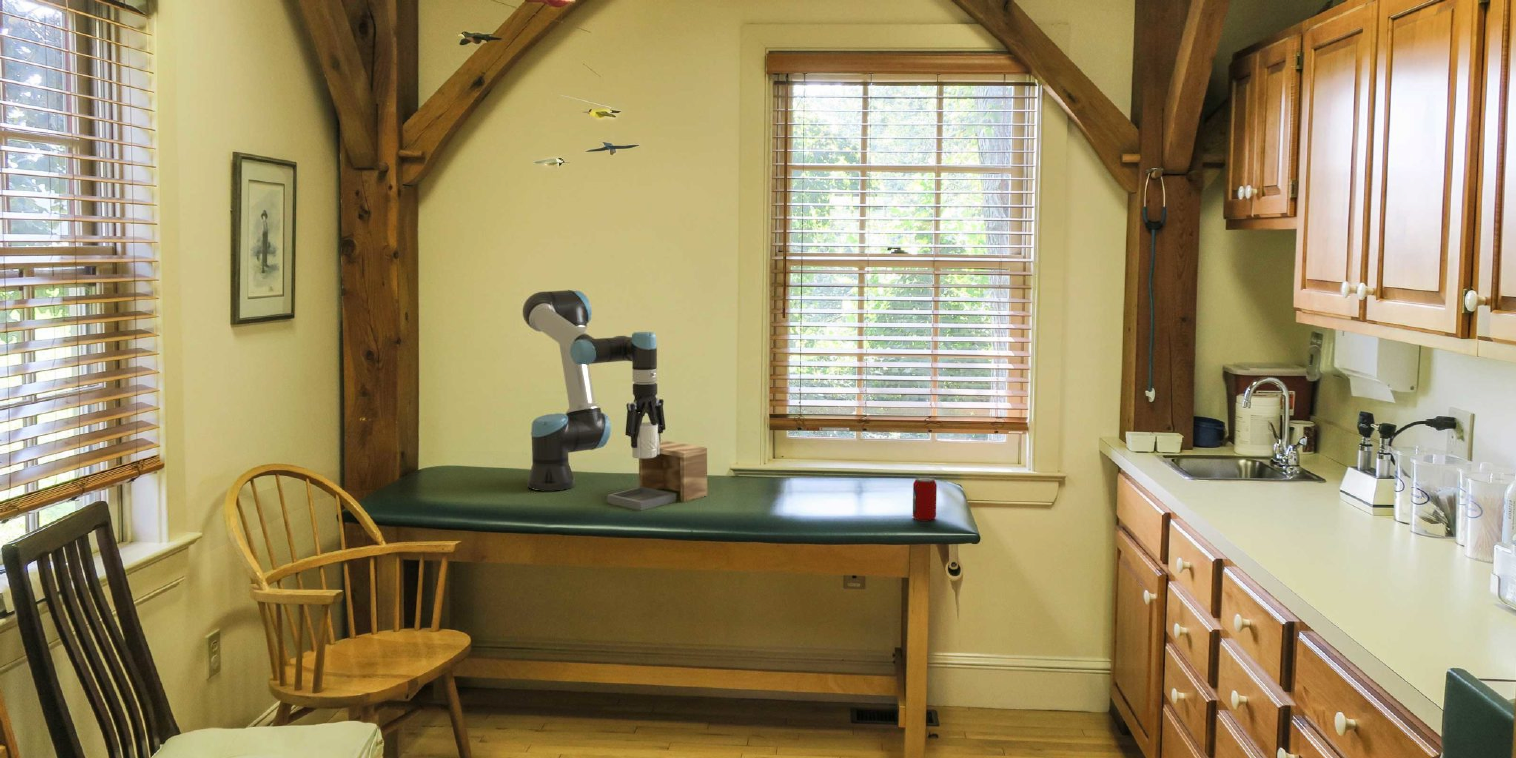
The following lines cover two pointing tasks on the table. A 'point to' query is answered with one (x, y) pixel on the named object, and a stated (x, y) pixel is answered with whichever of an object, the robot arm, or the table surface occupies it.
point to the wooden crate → (676, 470)
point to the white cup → (648, 440)
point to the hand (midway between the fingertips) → (646, 455)
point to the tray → (641, 498)
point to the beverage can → (924, 498)
